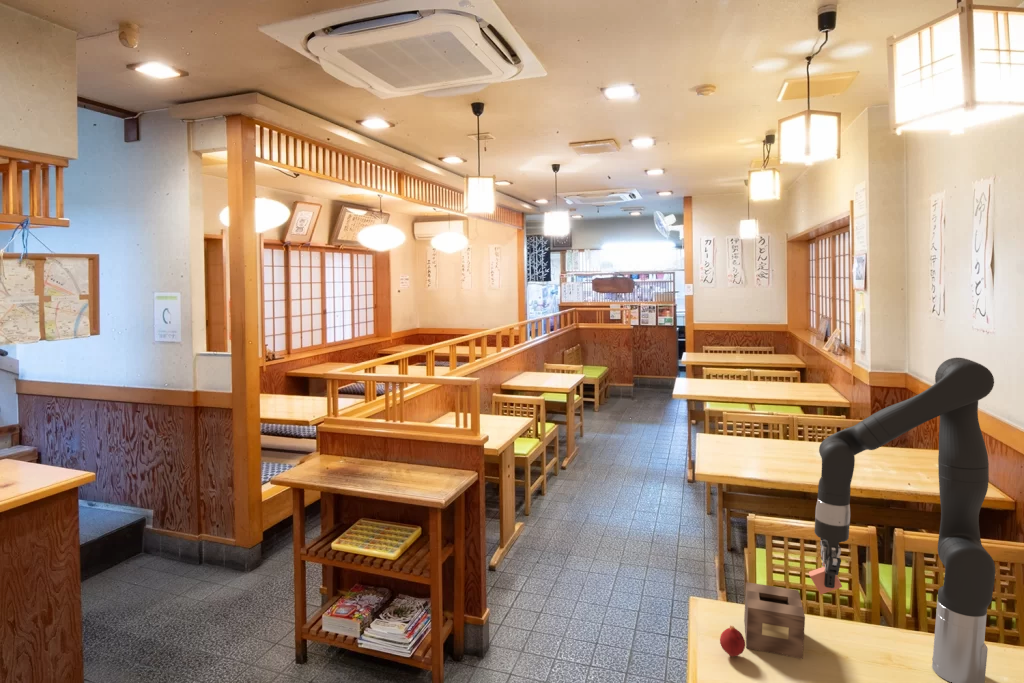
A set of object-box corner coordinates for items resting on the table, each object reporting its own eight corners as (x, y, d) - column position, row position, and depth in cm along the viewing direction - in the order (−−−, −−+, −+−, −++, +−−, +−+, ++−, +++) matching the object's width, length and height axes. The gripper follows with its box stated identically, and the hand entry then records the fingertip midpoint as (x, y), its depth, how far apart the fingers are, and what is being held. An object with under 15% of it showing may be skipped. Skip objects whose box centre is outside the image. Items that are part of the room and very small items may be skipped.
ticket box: (796, 629, 158) (798, 590, 156) (802, 659, 145) (805, 617, 144) (744, 619, 162) (745, 582, 161) (746, 648, 150) (748, 607, 148)
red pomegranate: (740, 649, 149) (741, 619, 148) (747, 664, 144) (748, 633, 143) (717, 648, 150) (718, 618, 149) (722, 662, 144) (724, 632, 143)
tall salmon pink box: (819, 589, 150) (840, 582, 148) (820, 594, 147) (842, 586, 146) (808, 571, 150) (830, 564, 148) (810, 576, 148) (831, 568, 146)
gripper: (855, 531, 138) (850, 601, 140) (843, 509, 151) (839, 573, 153) (819, 527, 141) (815, 595, 143) (811, 505, 153) (807, 569, 155)
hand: (828, 584), depth 148 cm, fingers closed on tall salmon pink box, 2 cm apart
